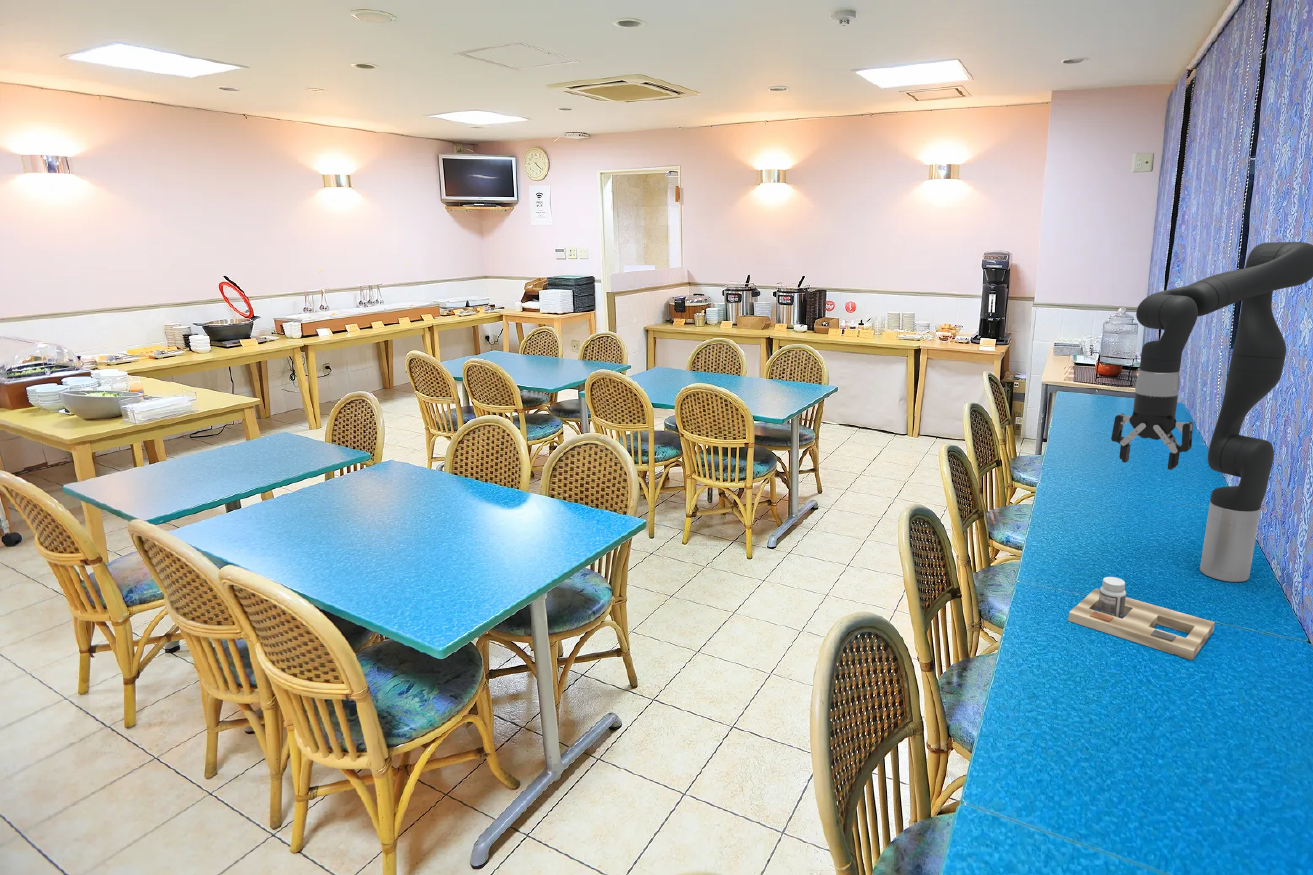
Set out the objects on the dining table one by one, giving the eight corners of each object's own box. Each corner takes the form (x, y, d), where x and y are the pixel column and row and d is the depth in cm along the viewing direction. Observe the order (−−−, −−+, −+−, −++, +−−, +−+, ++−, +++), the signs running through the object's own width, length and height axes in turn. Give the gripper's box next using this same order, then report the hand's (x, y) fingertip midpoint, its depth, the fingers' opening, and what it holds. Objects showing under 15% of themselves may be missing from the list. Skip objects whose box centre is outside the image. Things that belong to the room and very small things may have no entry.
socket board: (1094, 596, 166) (1095, 587, 166) (1213, 630, 150) (1215, 620, 150) (1068, 620, 157) (1069, 610, 156) (1192, 660, 141) (1193, 649, 140)
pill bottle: (1113, 610, 160) (1118, 575, 158) (1128, 621, 156) (1132, 584, 153) (1092, 612, 160) (1096, 576, 158) (1105, 623, 155) (1110, 586, 153)
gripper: (1202, 392, 153) (1191, 467, 157) (1124, 384, 163) (1116, 455, 167) (1192, 398, 148) (1181, 476, 152) (1112, 390, 159) (1104, 463, 163)
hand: (1147, 465), depth 160 cm, fingers open, 8 cm apart
